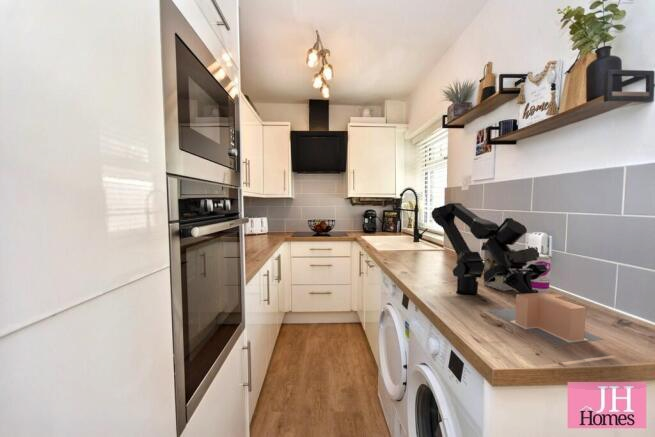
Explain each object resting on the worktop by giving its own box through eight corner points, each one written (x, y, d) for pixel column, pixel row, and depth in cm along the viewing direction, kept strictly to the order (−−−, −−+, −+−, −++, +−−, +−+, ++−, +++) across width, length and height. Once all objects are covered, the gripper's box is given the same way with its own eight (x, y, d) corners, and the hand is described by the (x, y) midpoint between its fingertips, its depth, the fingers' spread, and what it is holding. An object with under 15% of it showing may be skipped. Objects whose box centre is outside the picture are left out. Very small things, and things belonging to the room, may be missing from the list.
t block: (515, 322, 77) (516, 294, 76) (549, 319, 79) (550, 292, 79) (557, 342, 65) (559, 309, 65) (595, 338, 68) (597, 306, 67)
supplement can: (553, 298, 99) (556, 257, 98) (528, 296, 101) (530, 256, 100) (541, 291, 107) (543, 253, 106) (517, 289, 108) (519, 252, 108)
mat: (485, 311, 85) (485, 310, 85) (524, 308, 88) (524, 307, 88) (556, 346, 64) (556, 345, 64) (604, 340, 67) (604, 339, 67)
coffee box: (514, 289, 109) (516, 249, 108) (503, 291, 106) (505, 250, 106) (492, 283, 117) (494, 246, 117) (482, 284, 115) (483, 247, 114)
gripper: (492, 238, 80) (524, 286, 70) (543, 237, 84) (581, 282, 74) (471, 260, 88) (498, 305, 78) (519, 258, 92) (550, 301, 82)
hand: (532, 298), depth 78 cm, fingers closed, pressing on t block
